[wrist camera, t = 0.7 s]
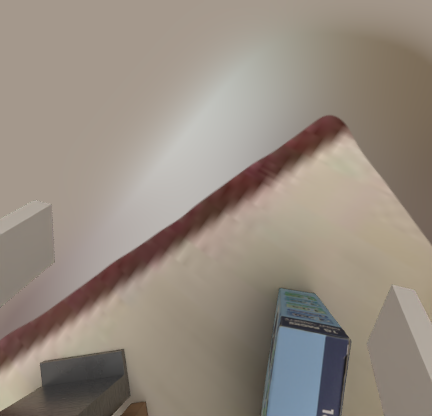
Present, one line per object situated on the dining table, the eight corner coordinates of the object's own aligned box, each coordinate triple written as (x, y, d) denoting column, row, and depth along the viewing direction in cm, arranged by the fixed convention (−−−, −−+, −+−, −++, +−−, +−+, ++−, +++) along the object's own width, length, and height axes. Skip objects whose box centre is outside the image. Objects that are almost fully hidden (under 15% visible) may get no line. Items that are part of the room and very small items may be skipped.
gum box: (295, 452, 43) (317, 675, 21) (254, 441, 44) (232, 644, 22) (317, 292, 45) (359, 341, 22) (276, 285, 46) (278, 324, 23)
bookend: (130, 395, 47) (77, 451, 35) (48, 406, 49) (-31, 463, 36) (123, 349, 48) (69, 387, 35) (43, 361, 50) (-36, 401, 37)
